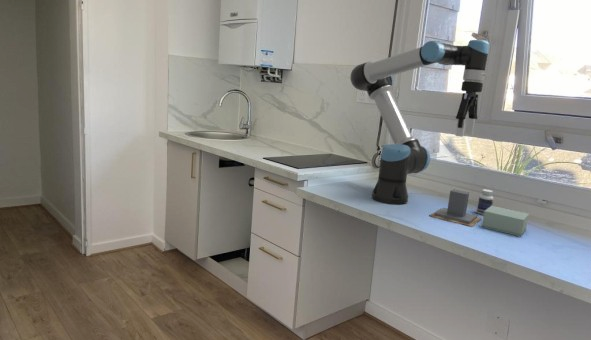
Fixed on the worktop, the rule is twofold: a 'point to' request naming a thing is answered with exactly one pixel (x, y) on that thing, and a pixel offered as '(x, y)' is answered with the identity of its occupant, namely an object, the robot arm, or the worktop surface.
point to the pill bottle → (484, 201)
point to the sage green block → (505, 220)
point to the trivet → (456, 221)
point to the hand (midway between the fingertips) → (464, 135)
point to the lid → (457, 208)
